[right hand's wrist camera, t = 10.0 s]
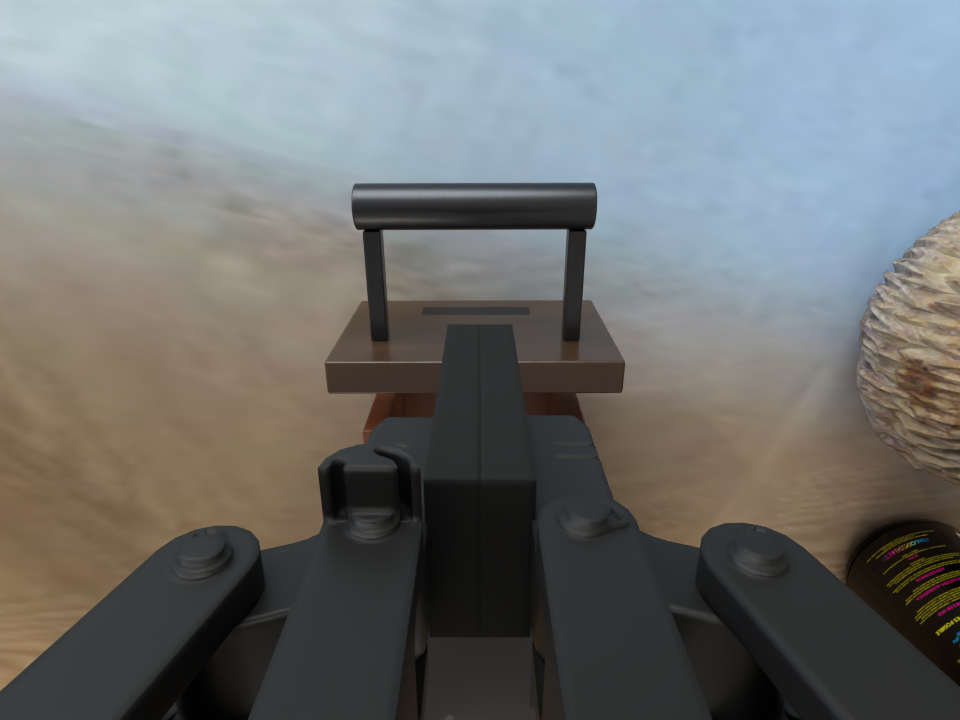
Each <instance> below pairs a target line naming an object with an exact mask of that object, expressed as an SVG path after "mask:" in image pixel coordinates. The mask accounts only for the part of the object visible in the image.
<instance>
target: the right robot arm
mask: <svg viewBox="0 0 960 720" xmlns="http://www.w3.org/2000/svg"><path fill="white" fill-rule="evenodd" d="M318 475H319V484H320V493H321V502H322V510H323V519H324V522H323V525H322V528H321V530H320V533H319V534H318V535H315V536H313V537H311V538H309V539H307V540H303V541H300V542H296V543H293V544H289V545H284V546H280V547H275V548H270V549H266V550H261V551H260V545H259V540H258V539H257V538H256V537H255V536H254V535H253V534H252V533H251V531H248V530H245V529H242V528H240V527H237V526H212V527H207V528H201V529H197V530H194V531H191V532H189V533H187V534H184V535H182V536H179V537H177V538H175V539H173V540H172V541H170V542H169V543H167V544H166V545H164V546H163V547H162V548H160V549H159V550H157V551H156V552H155V553H154V554H153V555H152V556H151V557H149V558H148V559H147V560H146V561H145V562H144V563H143V564H142V565H141V566H139V567H138V568H137V569H136V570H135V571H134V572H133V573H132V574H131V575H129V576H128V577H127V578H126V579H125V580H124V581H123V582H122V583H120V584H119V585H118V586H117V587H116V588H115V589H114V590H113V591H112V592H110V593H109V594H108V595H107V596H106V597H105V598H104V599H103V600H102V601H100V602H99V603H98V604H97V605H96V606H95V607H94V608H93V609H92V610H90V611H89V612H88V613H87V614H86V615H85V616H84V617H83V618H81V619H80V620H79V621H78V622H77V623H76V624H75V625H74V626H73V627H71V628H70V629H69V630H68V631H67V632H66V633H65V634H64V635H63V636H61V637H60V638H59V639H58V640H57V641H56V642H55V643H54V644H52V645H51V646H50V647H49V648H48V649H47V650H46V651H45V652H44V653H42V654H41V655H40V656H39V657H38V658H37V659H36V660H35V661H34V662H32V663H31V664H30V665H29V666H28V667H27V668H26V669H25V670H24V671H22V672H21V673H20V674H19V675H18V676H17V677H16V678H15V679H13V680H12V681H11V682H10V683H9V684H8V685H7V686H6V687H5V688H3V689H2V690H1V691H0V720H424V715H425V704H426V693H427V681H428V670H429V664H428V632H429V634H430V637H530V634H531V629H532V639H533V640H532V664H531V688H530V708H535V714H536V720H960V687H959V686H958V685H957V684H956V683H955V682H954V681H953V680H952V679H950V678H949V677H948V676H947V675H946V674H945V673H944V672H943V671H941V670H940V669H939V668H938V667H937V666H936V665H935V664H934V663H932V662H931V661H930V660H929V659H928V658H927V657H926V656H925V655H923V654H922V653H921V652H920V651H919V650H918V649H917V648H916V647H915V646H913V645H912V644H911V643H910V642H909V641H908V640H907V639H906V638H904V637H903V636H902V635H901V634H900V633H899V632H898V631H897V630H895V629H894V628H893V627H892V626H891V625H890V624H889V623H888V622H886V621H885V620H884V619H883V618H882V617H881V616H880V615H879V614H877V613H876V612H875V611H874V610H873V609H872V608H871V607H870V606H868V605H867V604H866V603H865V602H864V601H863V600H862V599H861V598H859V597H858V596H857V595H856V594H855V593H854V592H853V591H852V590H850V589H849V588H848V587H847V586H846V585H845V584H844V583H843V582H841V581H840V580H839V579H838V578H837V577H836V576H835V575H834V574H833V573H831V572H830V571H829V570H828V569H827V568H826V567H825V566H824V565H822V564H821V563H820V562H819V561H818V560H817V559H816V558H815V557H813V556H812V555H811V554H810V553H809V552H808V551H807V550H806V549H804V548H803V547H802V546H800V545H799V544H797V543H796V542H795V541H793V540H792V539H790V538H789V537H787V536H786V535H783V534H781V533H778V532H776V531H774V530H771V529H769V528H766V527H762V526H758V525H753V524H747V523H725V524H722V525H719V526H716V527H713V528H710V529H709V530H708V531H707V532H706V534H705V535H704V536H703V537H702V539H701V545H700V548H698V547H693V546H688V545H683V544H679V543H674V542H669V541H666V540H662V539H659V538H655V537H653V536H651V535H648V534H646V533H644V532H642V531H640V529H639V527H638V524H637V522H636V520H635V518H634V517H633V516H632V514H631V513H630V511H629V510H628V509H626V508H625V507H623V506H622V505H620V504H619V503H617V502H616V501H614V499H613V496H612V493H611V490H610V488H609V485H608V482H607V479H606V476H605V473H604V471H603V468H602V465H601V462H600V459H598V453H597V451H596V448H595V446H594V442H593V439H592V436H591V433H590V431H589V428H588V427H587V426H585V425H584V424H583V423H582V422H581V421H579V420H578V419H577V418H576V417H575V416H573V415H526V409H525V403H524V396H523V390H522V383H521V377H520V371H519V364H518V358H517V352H516V345H515V339H514V332H513V326H512V324H448V326H447V332H446V339H445V345H444V352H443V358H442V364H441V371H440V377H439V383H438V390H437V396H436V403H435V409H434V415H433V417H387V418H385V419H384V420H383V421H382V422H381V423H380V424H378V425H377V426H376V427H375V428H374V429H372V430H371V433H370V436H369V439H368V442H367V444H361V445H356V446H352V447H349V448H345V449H342V450H340V451H338V452H336V453H334V454H333V455H331V456H329V457H327V458H326V459H325V460H324V461H323V463H322V464H321V465H320V466H319V467H318Z"/></svg>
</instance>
